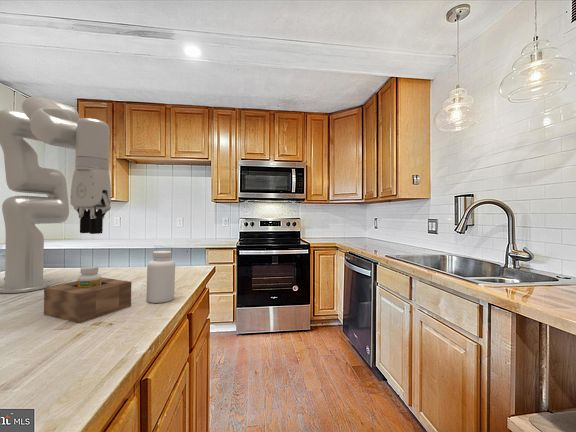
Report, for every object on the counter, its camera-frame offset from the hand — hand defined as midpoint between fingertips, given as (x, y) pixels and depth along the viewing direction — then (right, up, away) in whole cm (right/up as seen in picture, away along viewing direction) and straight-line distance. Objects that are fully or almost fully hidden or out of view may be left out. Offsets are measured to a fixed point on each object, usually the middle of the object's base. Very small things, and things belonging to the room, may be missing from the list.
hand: (91, 232), depth 76 cm
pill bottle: (+14, -22, +11) cm, 28 cm away
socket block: (-1, -21, 0) cm, 21 cm away
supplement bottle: (-1, -19, 0) cm, 19 cm away
